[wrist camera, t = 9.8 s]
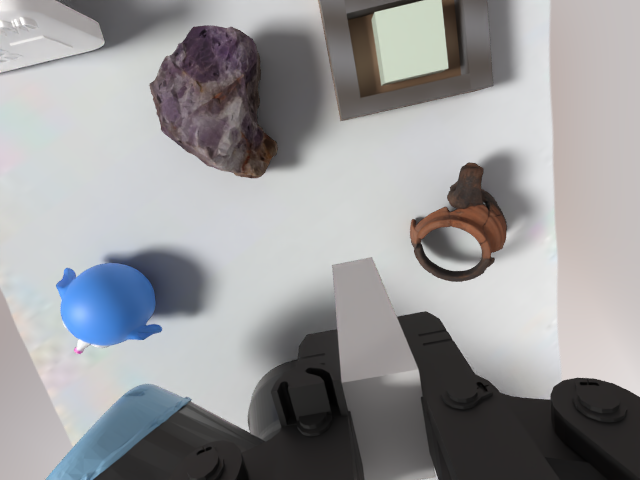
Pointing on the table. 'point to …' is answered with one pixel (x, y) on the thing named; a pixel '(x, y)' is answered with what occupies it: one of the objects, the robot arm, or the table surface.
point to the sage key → (410, 41)
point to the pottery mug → (464, 223)
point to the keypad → (370, 97)
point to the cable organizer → (43, 32)
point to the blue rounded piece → (107, 305)
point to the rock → (215, 100)
